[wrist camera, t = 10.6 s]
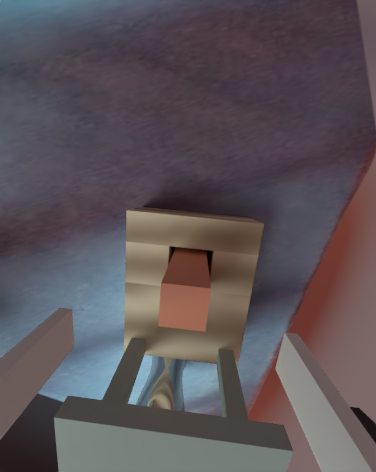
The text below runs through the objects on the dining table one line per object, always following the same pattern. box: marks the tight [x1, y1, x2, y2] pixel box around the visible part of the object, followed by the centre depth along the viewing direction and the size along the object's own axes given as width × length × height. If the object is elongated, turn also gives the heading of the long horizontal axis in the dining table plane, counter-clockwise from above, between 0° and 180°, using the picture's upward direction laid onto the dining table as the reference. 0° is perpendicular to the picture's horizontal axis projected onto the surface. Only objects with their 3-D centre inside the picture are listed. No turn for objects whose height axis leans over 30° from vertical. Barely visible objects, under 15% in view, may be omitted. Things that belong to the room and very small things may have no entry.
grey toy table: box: [54, 338, 293, 472], centre depth 19 cm, size 7×16×12 cm, turn 85°
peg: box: [158, 247, 211, 332], centre depth 22 cm, size 4×4×14 cm
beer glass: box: [136, 356, 186, 412], centre depth 26 cm, size 7×7×15 cm
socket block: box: [124, 207, 264, 366], centre depth 27 cm, size 20×16×6 cm
